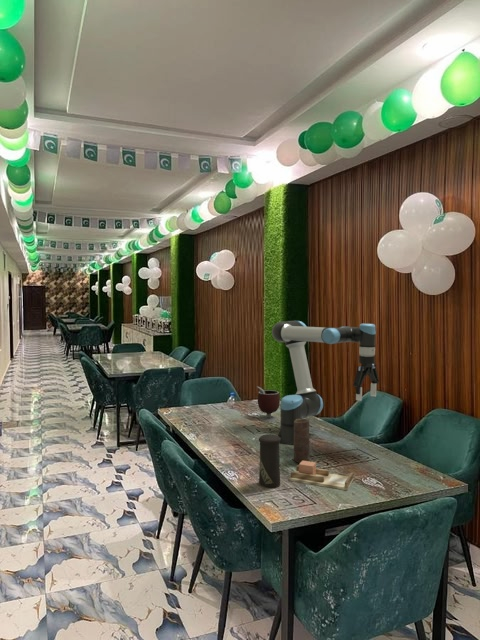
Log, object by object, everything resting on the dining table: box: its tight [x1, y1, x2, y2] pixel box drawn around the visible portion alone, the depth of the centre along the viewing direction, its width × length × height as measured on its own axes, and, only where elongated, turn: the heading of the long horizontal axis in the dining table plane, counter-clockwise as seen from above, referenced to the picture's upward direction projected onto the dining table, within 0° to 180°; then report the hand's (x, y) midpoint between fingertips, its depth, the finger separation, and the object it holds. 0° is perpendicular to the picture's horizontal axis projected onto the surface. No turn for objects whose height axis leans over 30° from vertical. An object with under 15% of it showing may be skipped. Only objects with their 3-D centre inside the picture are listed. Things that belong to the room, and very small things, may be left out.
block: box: [298, 461, 317, 475], centre depth 195 cm, size 6×5×5 cm
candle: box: [293, 418, 311, 464], centre depth 213 cm, size 8×7×20 cm
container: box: [258, 434, 281, 489], centre depth 188 cm, size 9×9×20 cm
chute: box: [288, 464, 354, 491], centre depth 192 cm, size 24×12×3 cm, turn 65°
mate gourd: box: [256, 386, 281, 422], centre depth 291 cm, size 16×14×20 cm
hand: (366, 398), depth 227 cm, fingers open, 13 cm apart
